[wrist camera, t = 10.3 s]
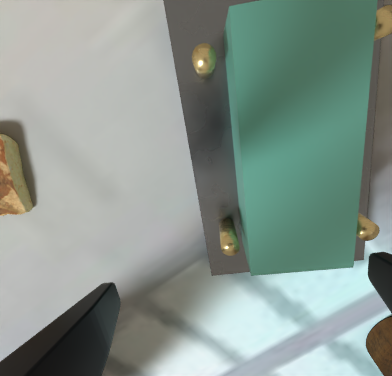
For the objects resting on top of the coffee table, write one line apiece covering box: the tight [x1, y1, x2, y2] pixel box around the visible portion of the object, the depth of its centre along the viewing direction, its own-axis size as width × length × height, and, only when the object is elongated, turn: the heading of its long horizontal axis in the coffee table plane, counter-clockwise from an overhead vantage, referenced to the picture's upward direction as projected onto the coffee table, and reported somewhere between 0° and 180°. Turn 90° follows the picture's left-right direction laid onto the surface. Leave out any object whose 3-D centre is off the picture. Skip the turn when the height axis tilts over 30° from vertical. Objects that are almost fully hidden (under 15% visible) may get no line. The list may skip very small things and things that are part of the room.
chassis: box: [163, 0, 392, 276], centre depth 15 cm, size 20×12×4 cm, turn 10°
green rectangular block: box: [223, 0, 378, 276], centre depth 14 cm, size 14×6×4 cm, turn 8°
